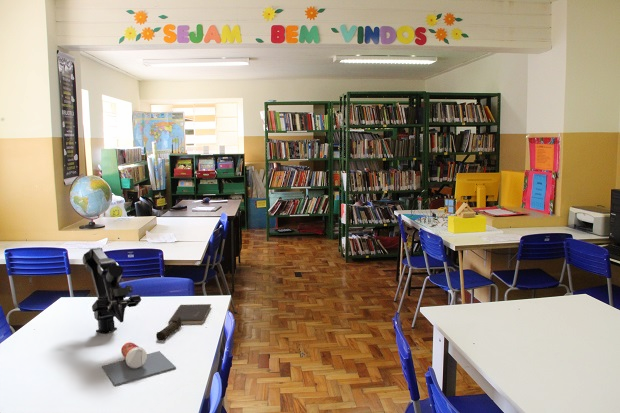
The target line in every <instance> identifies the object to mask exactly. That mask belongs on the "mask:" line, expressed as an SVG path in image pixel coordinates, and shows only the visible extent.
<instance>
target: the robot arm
mask: <svg viewBox="0 0 620 413" xmlns="http://www.w3.org/2000/svg"><path fill="white" fill-rule="evenodd" d="M82 264H83V265H84V266H85V269H86V271H88V272H89V273H90V276H91V278H92V282H93V285H94V290H95V294H96V297H97V299H96V300H95V301H94V302H93V304H92V305H91V310H92V312H93V315H94V316H93V317H94V319H95V320H96V321H97V326H98V329H96V330H95V332H96V333H101V334H108V333H111V332H113V331H116V330H117V329H118V327H116V326H115V319H114V318H116V320H117V321H118V322H119V323H124V318H125V312H126V308H127V307H129V308H132V307H136V306H138V305H139V304H140V302H141V301H142V297H141V296H140V295H139V294H137V295H136V294H135V295H134V294H133V295H130V294H132V293H133V286H132V284H129V285H128V284H127V285H126V286H124V287H123V286H121V284H120V281H121V278H122V276H123V274H124V268H123V267H122V266H121V265H120V264H118V262H116V260H115V259H114V258H109V257H108V256H107V255H106V254H105V252H104V251H103V247H100V246H99V247H93V248H90V249H89V251H87V252H85V253H84V254H83V256H82ZM129 295H130V296H129ZM127 296H129V297H128V298H127V299H126V297H127Z"/></svg>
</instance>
